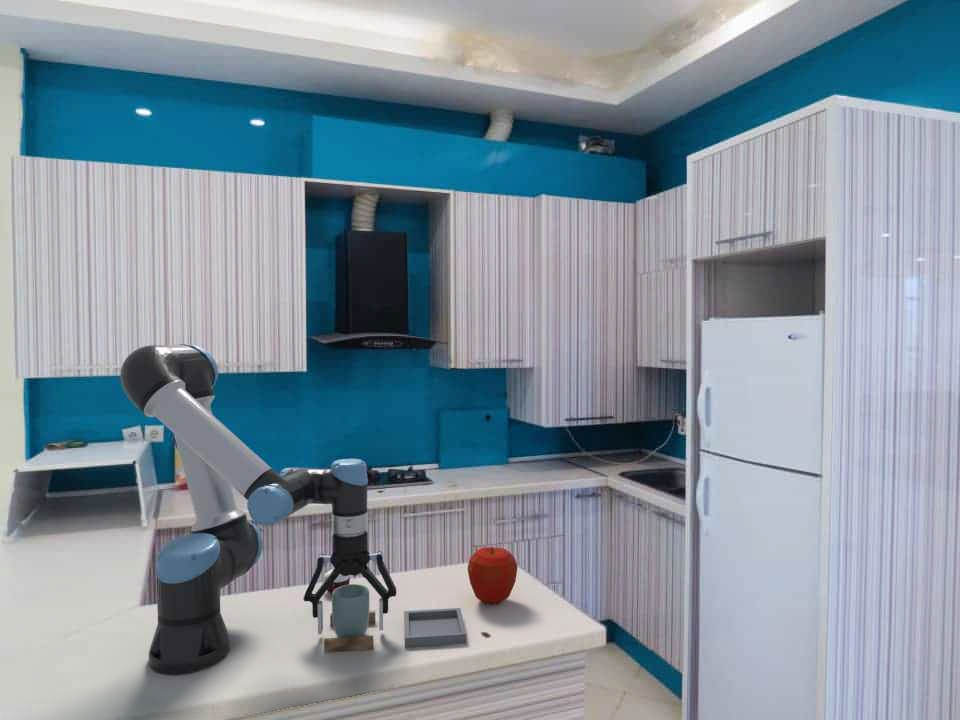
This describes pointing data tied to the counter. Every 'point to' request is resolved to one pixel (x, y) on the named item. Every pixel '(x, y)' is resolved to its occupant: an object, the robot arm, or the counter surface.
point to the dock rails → (350, 640)
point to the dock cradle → (434, 627)
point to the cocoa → (337, 581)
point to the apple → (492, 574)
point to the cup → (350, 610)
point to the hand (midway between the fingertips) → (351, 629)
